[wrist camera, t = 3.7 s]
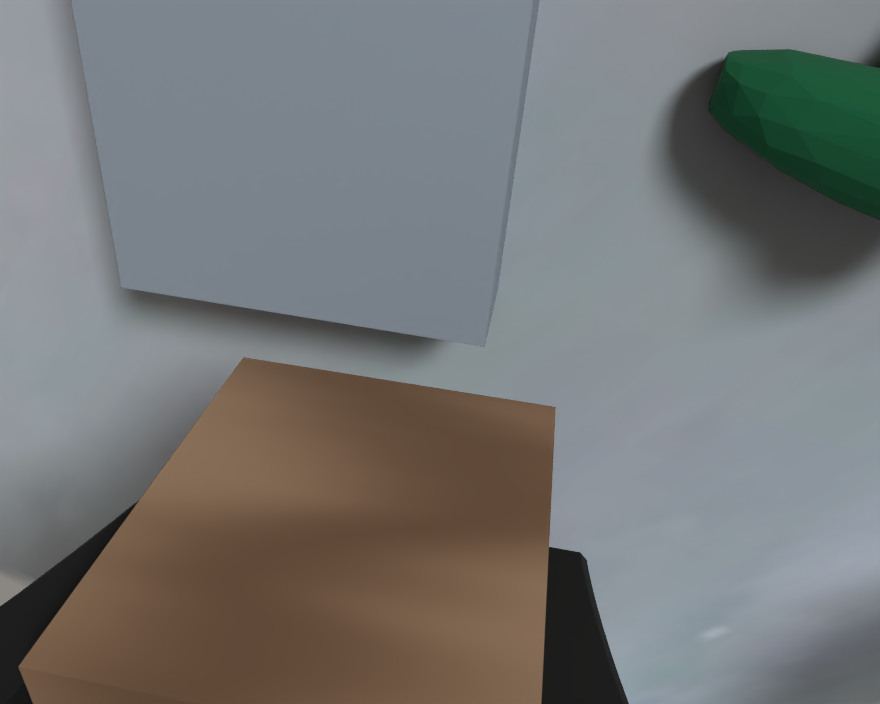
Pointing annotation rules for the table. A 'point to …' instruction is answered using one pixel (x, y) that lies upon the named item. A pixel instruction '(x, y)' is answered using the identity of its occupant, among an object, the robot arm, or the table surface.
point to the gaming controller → (807, 119)
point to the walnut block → (322, 555)
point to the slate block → (312, 152)
